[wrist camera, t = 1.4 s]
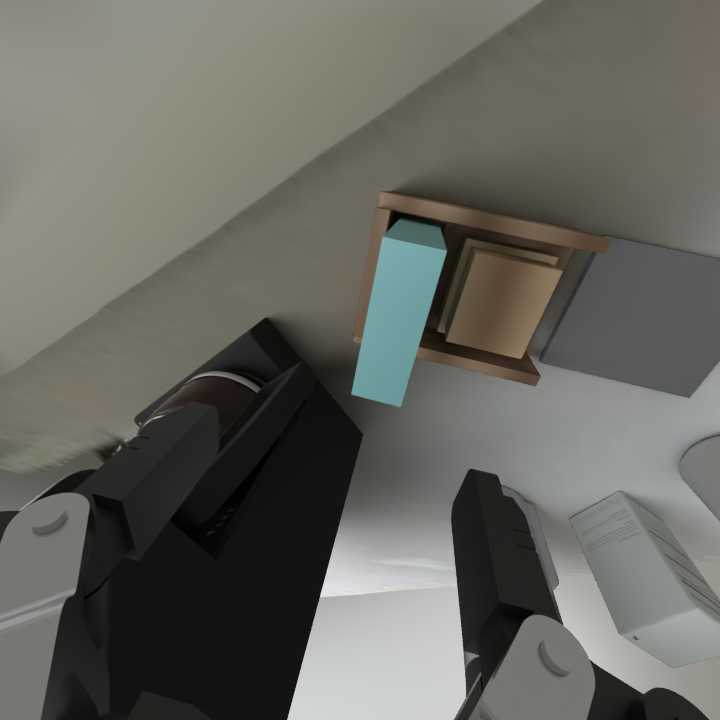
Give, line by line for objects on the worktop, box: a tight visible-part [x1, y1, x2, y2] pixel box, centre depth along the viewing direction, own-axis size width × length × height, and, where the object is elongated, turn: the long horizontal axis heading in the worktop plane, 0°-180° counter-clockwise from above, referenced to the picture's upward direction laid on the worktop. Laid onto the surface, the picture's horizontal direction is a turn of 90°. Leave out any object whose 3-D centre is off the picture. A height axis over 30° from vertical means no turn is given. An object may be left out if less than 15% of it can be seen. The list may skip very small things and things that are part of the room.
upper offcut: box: [444, 246, 563, 359], centre depth 26 cm, size 6×7×3 cm
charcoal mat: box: [539, 235, 720, 398], centre depth 29 cm, size 14×12×1 cm
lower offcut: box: [436, 234, 558, 333], centre depth 28 cm, size 7×8×3 cm
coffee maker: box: [18, 318, 363, 720], centre depth 28 cm, size 28×20×35 cm
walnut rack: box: [353, 191, 613, 386], centre depth 28 cm, size 16×12×7 cm
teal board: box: [351, 215, 447, 407], centre depth 24 cm, size 3×9×15 cm, turn 170°
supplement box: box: [569, 491, 720, 668], centre depth 35 cm, size 7×7×13 cm
